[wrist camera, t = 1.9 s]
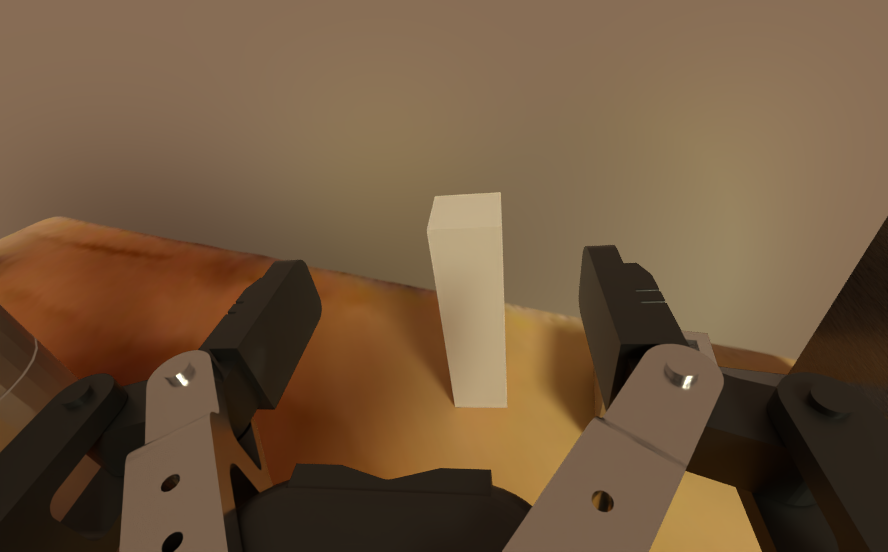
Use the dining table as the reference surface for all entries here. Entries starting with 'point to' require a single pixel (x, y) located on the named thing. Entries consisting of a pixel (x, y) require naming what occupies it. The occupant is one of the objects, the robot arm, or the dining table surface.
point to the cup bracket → (835, 335)
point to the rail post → (471, 294)
